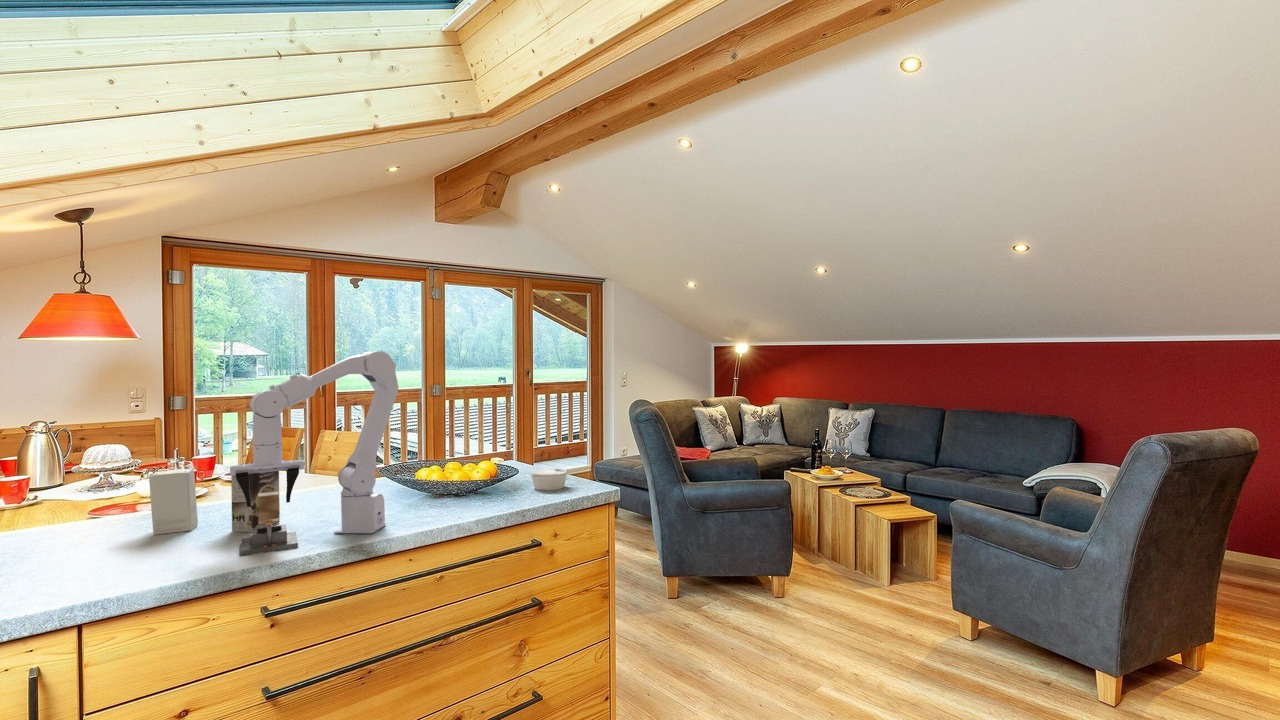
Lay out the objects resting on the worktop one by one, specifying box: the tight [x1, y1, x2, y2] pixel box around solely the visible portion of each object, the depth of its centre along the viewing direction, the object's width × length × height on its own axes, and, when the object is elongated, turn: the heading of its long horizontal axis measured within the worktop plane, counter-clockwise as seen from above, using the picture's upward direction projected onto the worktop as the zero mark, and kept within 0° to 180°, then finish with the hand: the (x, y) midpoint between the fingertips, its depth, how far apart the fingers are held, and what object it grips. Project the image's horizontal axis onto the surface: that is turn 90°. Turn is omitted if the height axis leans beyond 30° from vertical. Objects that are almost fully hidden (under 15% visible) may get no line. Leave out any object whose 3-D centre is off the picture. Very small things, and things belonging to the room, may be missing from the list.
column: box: [258, 490, 281, 524], centre depth 147 cm, size 4×4×6 cm
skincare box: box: [148, 467, 199, 535], centre depth 161 cm, size 8×6×15 cm
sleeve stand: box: [239, 521, 299, 556], centre depth 147 cm, size 11×11×6 cm
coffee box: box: [230, 461, 281, 533], centre depth 163 cm, size 9×6×16 cm
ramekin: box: [530, 468, 568, 492], centre depth 206 cm, size 11×11×5 cm
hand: (268, 503), depth 147 cm, fingers open, 7 cm apart
